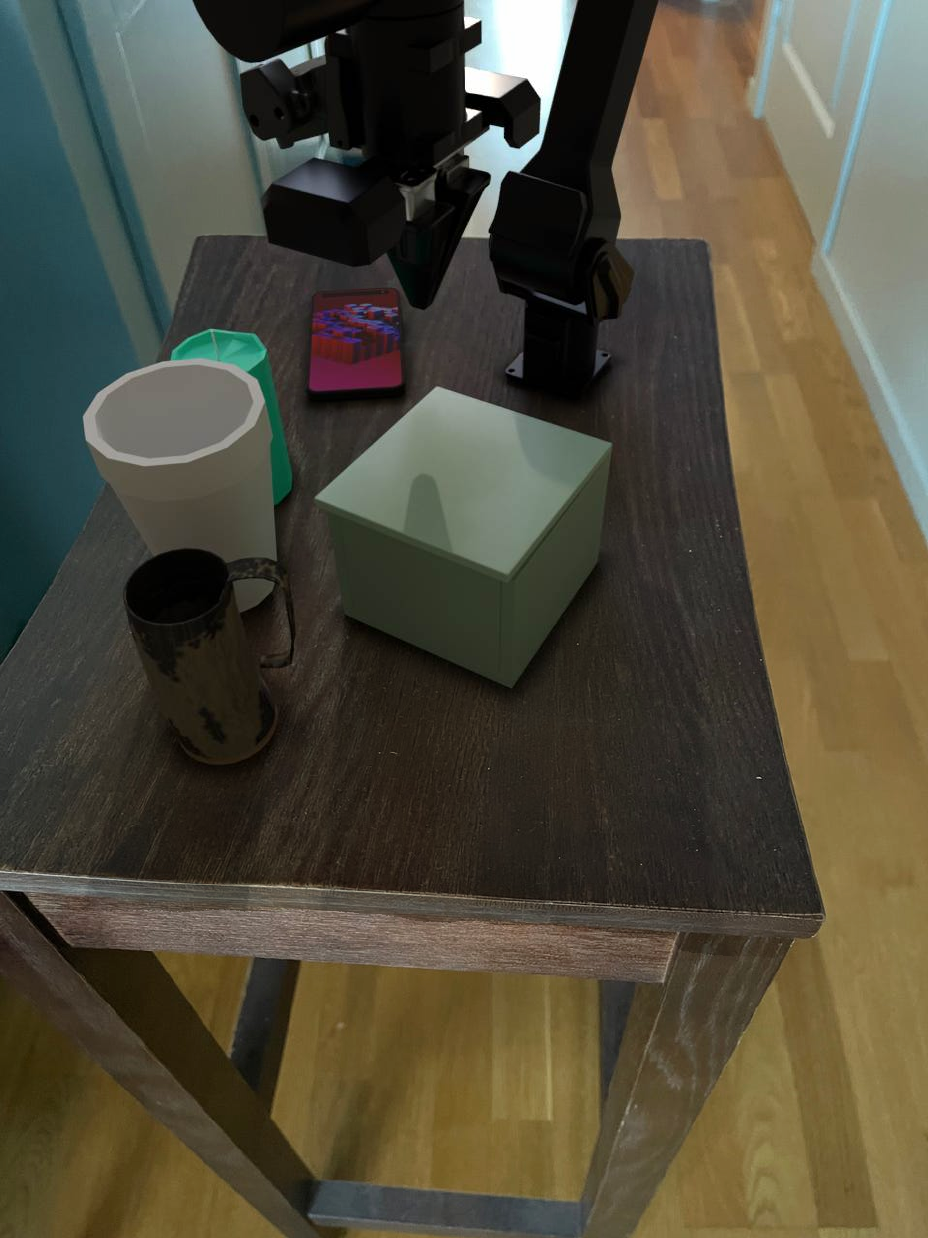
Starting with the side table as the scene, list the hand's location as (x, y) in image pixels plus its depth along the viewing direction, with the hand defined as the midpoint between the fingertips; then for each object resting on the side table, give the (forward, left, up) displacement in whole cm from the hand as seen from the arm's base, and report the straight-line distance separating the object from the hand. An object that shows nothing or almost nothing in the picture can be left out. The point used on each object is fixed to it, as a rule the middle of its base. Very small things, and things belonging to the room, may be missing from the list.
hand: (421, 305), depth 55 cm
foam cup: (+15, -6, -13) cm, 21 cm away
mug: (+23, +2, -13) cm, 27 cm away
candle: (+7, -11, -13) cm, 18 cm away
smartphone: (-11, -14, -13) cm, 22 cm away
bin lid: (+8, +8, -4) cm, 12 cm away
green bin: (+8, +8, -13) cm, 17 cm away
